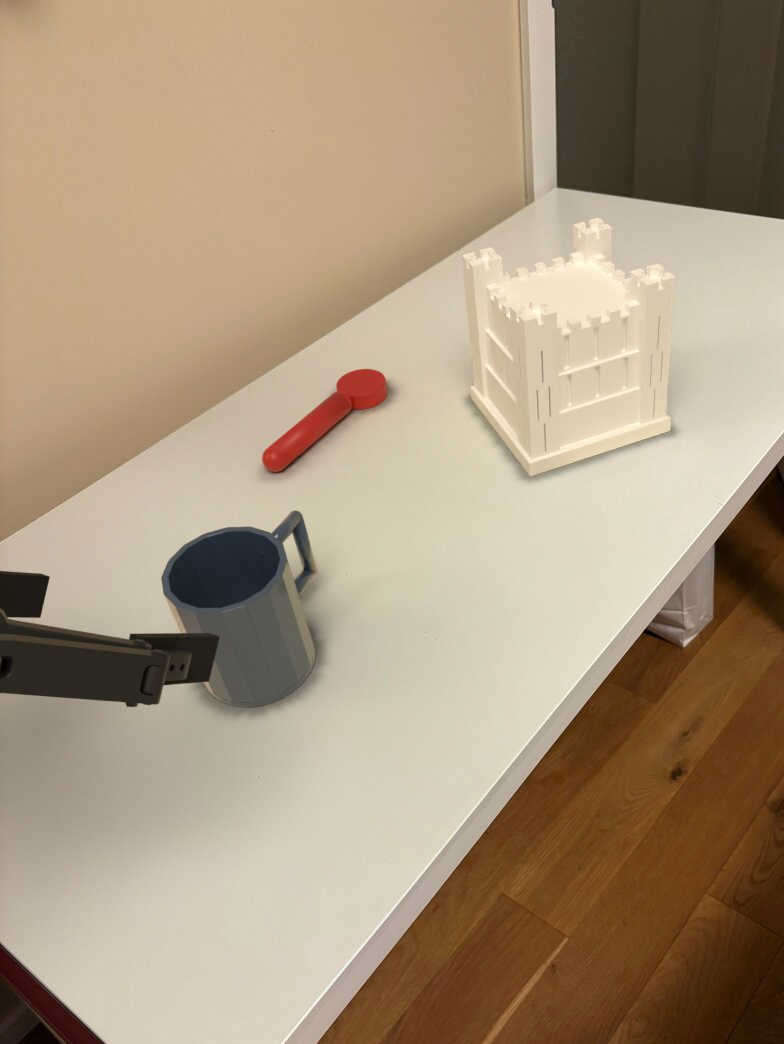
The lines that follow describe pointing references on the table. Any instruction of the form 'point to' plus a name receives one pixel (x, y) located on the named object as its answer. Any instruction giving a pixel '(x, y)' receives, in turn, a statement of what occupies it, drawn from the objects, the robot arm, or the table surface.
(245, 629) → the mug
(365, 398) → the spoon
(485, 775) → the table surface
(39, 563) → the table surface
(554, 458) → the castle model
